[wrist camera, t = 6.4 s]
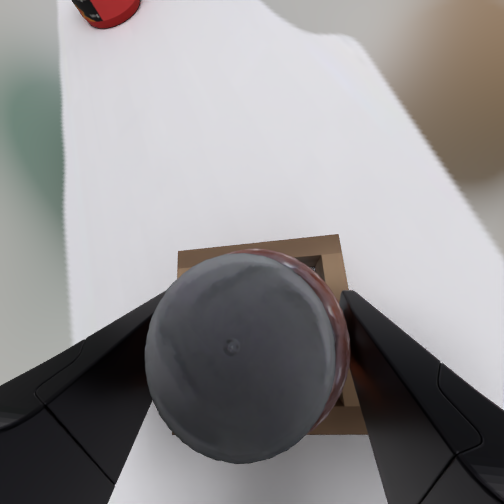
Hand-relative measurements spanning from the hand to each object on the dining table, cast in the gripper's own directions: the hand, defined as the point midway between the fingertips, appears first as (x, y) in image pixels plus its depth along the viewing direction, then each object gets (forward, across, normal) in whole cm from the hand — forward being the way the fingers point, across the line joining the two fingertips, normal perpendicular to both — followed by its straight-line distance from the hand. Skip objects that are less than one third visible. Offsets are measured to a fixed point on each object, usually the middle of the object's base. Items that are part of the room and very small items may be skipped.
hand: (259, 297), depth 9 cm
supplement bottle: (+4, 0, +6) cm, 8 cm away
